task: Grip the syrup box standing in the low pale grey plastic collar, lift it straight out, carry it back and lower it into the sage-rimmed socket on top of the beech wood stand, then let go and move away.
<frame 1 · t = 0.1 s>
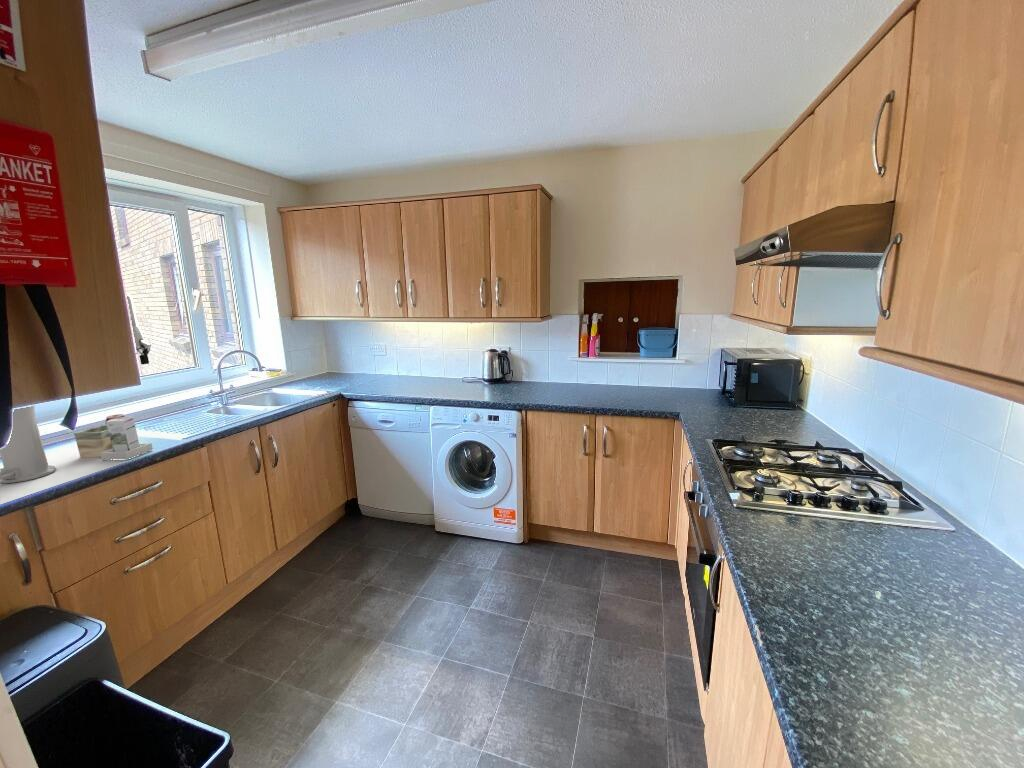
hand: (134, 364, 180), 31 cm above the worktop, tool pointing down, fingers open, 9 cm apart
raised stand: (105, 452, 164), on the worktop
syrup box: (128, 455, 159), resting in grey collar
grey collar: (128, 455, 159), on the worktop
beverage can: (121, 444, 174), on the worktop
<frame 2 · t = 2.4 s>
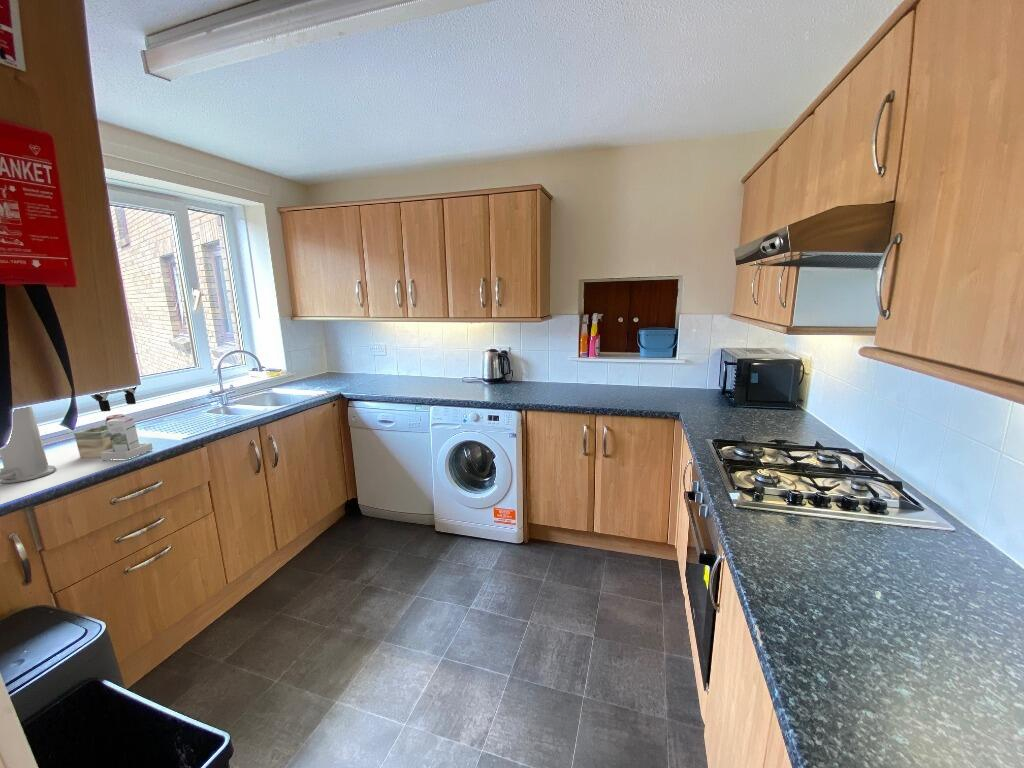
hand: (119, 407, 156), 19 cm above the worktop, tool pointing down, fingers open, 9 cm apart
nothing on the worktop moved.
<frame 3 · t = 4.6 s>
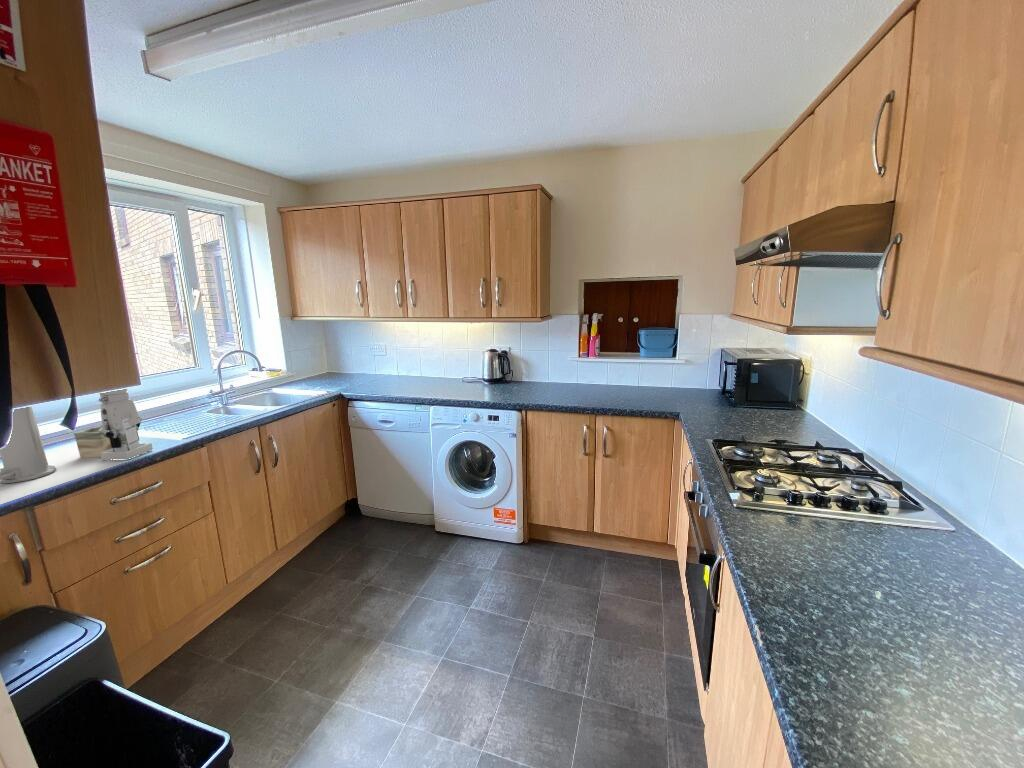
hand: (125, 444, 159), 4 cm above the worktop, tool pointing down, fingers closed on syrup box, 6 cm apart
syrup box: (128, 455, 159), resting in grey collar, touching gripper
everything else where it was.
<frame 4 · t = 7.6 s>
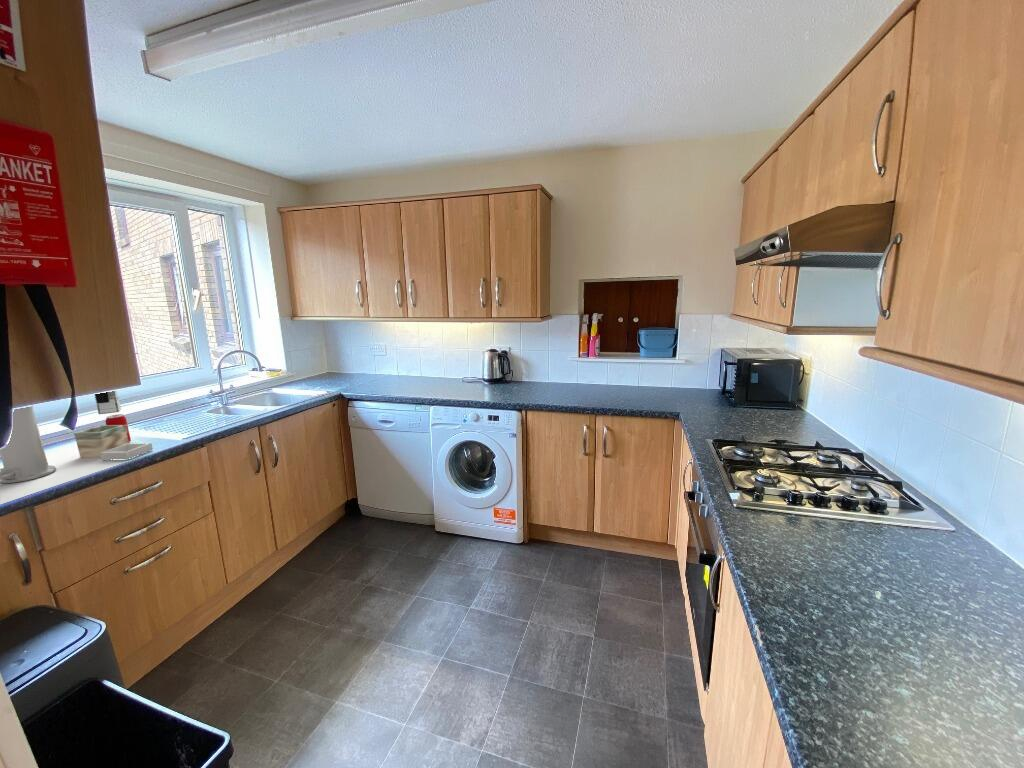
hand: (107, 400, 156), 21 cm above the worktop, tool pointing down, fingers closed on syrup box, 6 cm apart
syrup box: (110, 412, 157), point 17 cm above the worktop, touching gripper
everything else where it was.
when the fingers open (13 cm above the worktop, at t = 10.6 s): syrup box drops 1 cm, resting on raised stand.
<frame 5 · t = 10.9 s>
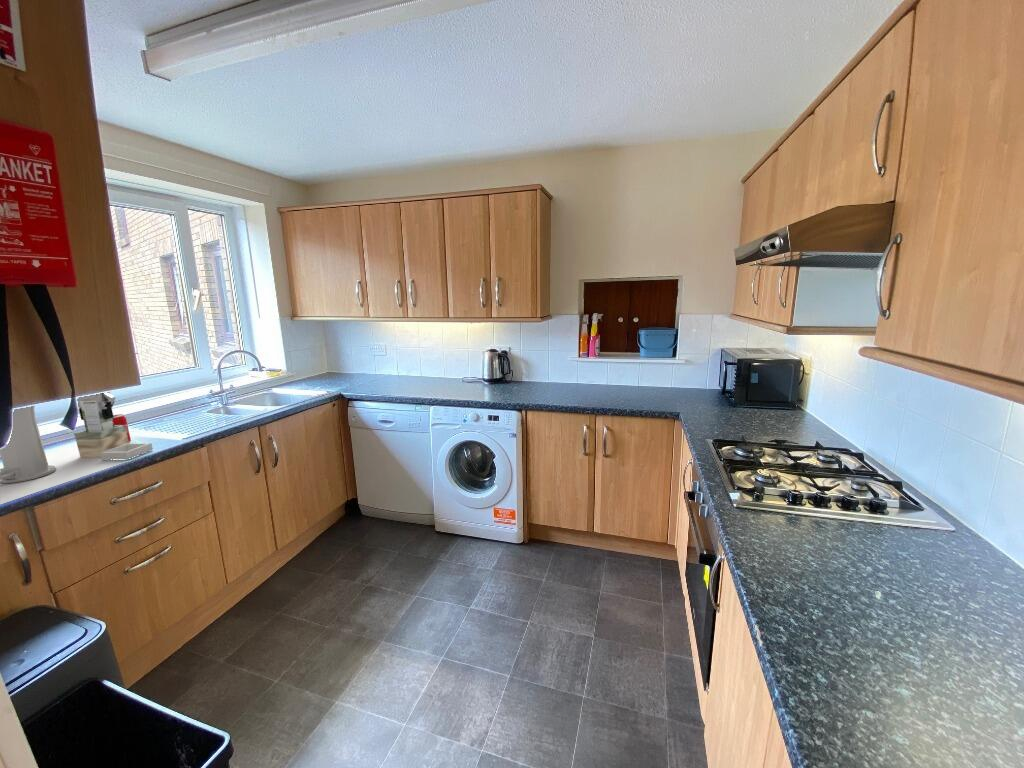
hand: (97, 418, 161), 14 cm above the worktop, tool pointing down, fingers open, 8 cm apart
syrup box: (102, 435, 162), point 7 cm above the worktop, touching raised stand
everything else where it was.
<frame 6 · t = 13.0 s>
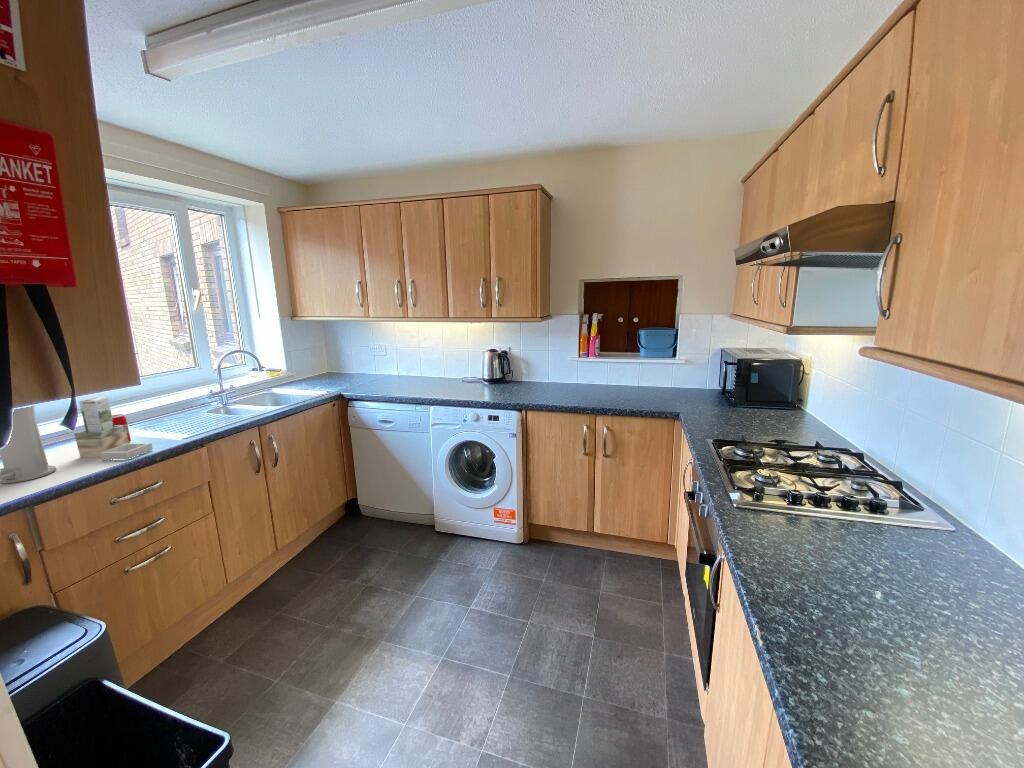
hand: (69, 376, 157), 30 cm above the worktop, tool pointing down, fingers open, 9 cm apart
nothing on the worktop moved.
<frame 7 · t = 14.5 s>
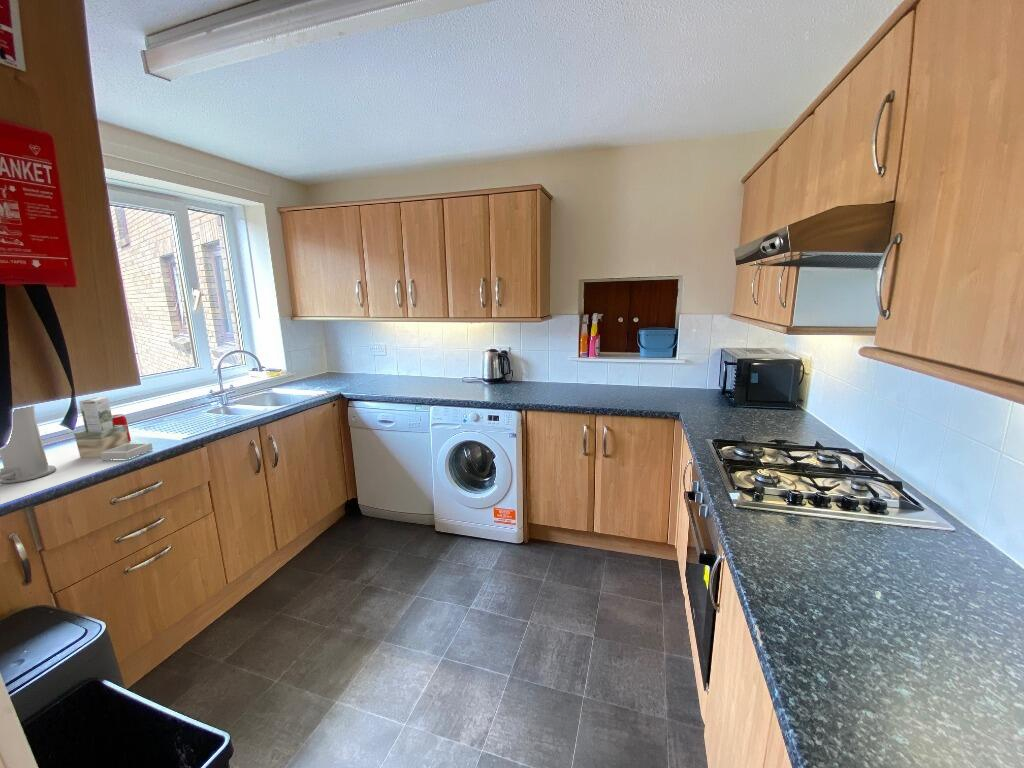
hand: (50, 372, 156), 32 cm above the worktop, tool pointing down, fingers open, 9 cm apart
nothing on the worktop moved.
at the end: syrup box 0.3 cm off-centre on the raised stand, point 6.8 cm above the raised stand's base; syrup box tilted 0°; the gripper is holding nothing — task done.
